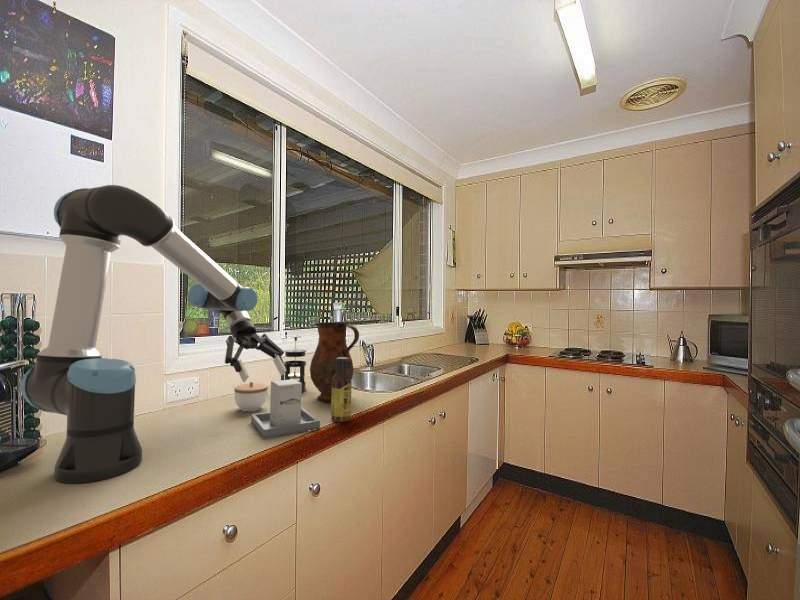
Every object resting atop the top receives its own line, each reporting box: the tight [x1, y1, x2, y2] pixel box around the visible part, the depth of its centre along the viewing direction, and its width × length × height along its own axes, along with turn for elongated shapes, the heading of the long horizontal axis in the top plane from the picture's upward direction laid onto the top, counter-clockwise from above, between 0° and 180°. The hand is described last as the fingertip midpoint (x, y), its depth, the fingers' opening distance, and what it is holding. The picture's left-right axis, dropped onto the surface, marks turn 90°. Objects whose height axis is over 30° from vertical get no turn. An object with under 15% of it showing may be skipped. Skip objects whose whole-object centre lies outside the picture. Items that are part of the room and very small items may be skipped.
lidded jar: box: [233, 381, 269, 413], centre depth 130 cm, size 11×11×9 cm
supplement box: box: [269, 379, 303, 427], centre depth 114 cm, size 7×7×13 cm
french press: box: [280, 335, 307, 393], centre depth 157 cm, size 12×9×23 cm
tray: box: [250, 407, 321, 440], centre depth 113 cm, size 16×16×2 cm
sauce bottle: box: [330, 357, 352, 423], centre depth 120 cm, size 7×6×20 cm
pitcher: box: [309, 321, 360, 404], centre depth 144 cm, size 17×21×30 cm
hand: (265, 376), depth 120 cm, fingers open, 13 cm apart
